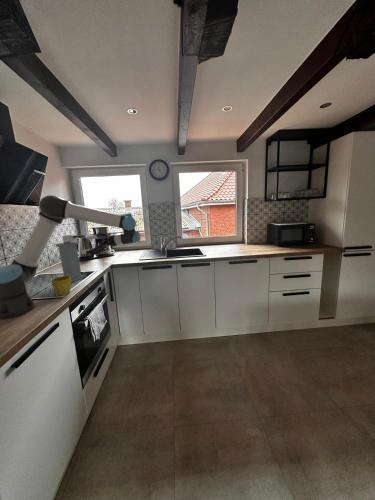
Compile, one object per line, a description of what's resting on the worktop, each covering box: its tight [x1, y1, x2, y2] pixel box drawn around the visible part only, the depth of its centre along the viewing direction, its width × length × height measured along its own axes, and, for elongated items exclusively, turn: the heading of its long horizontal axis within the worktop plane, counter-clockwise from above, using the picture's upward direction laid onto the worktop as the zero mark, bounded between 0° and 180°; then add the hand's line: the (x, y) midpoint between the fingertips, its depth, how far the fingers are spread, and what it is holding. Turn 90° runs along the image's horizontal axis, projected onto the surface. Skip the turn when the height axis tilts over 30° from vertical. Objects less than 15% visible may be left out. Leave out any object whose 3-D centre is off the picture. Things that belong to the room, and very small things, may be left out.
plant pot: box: [50, 275, 73, 296], centre depth 123 cm, size 10×10×10 cm
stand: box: [55, 241, 85, 283], centre depth 147 cm, size 10×10×28 cm
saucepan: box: [62, 234, 86, 244], centre depth 141 cm, size 17×9×5 cm, turn 71°
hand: (84, 244), depth 132 cm, fingers open, 13 cm apart
